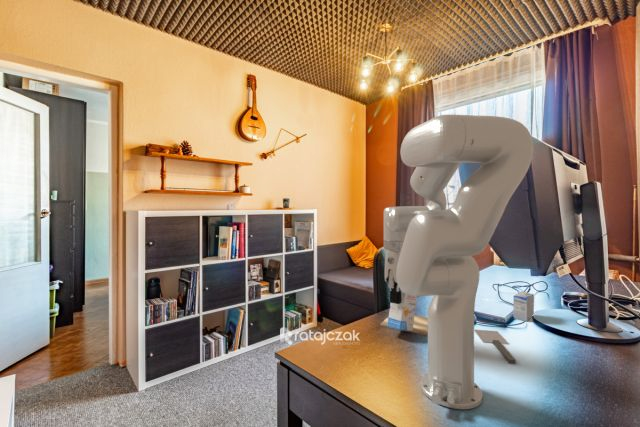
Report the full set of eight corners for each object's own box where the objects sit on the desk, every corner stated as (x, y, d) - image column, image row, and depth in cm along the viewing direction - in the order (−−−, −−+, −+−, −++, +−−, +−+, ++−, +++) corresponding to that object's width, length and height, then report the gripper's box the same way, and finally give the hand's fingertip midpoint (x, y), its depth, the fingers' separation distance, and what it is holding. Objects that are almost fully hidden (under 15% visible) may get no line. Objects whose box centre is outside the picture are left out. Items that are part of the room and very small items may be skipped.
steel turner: (527, 364, 77) (527, 361, 77) (497, 362, 79) (497, 358, 79) (497, 332, 98) (497, 329, 98) (474, 330, 99) (474, 327, 99)
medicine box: (520, 313, 115) (520, 291, 115) (534, 316, 111) (534, 293, 111) (513, 318, 110) (513, 295, 110) (527, 322, 106) (527, 298, 106)
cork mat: (427, 335, 96) (427, 333, 96) (380, 325, 104) (380, 324, 104) (436, 320, 108) (436, 319, 108) (393, 312, 117) (393, 311, 117)
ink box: (400, 330, 92) (406, 283, 95) (386, 326, 96) (393, 280, 99) (413, 330, 98) (419, 285, 101) (399, 326, 102) (405, 283, 105)
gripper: (400, 249, 86) (400, 312, 87) (413, 243, 99) (413, 298, 99) (375, 247, 90) (376, 307, 90) (391, 242, 103) (391, 294, 103)
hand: (395, 302), depth 95 cm, fingers closed
